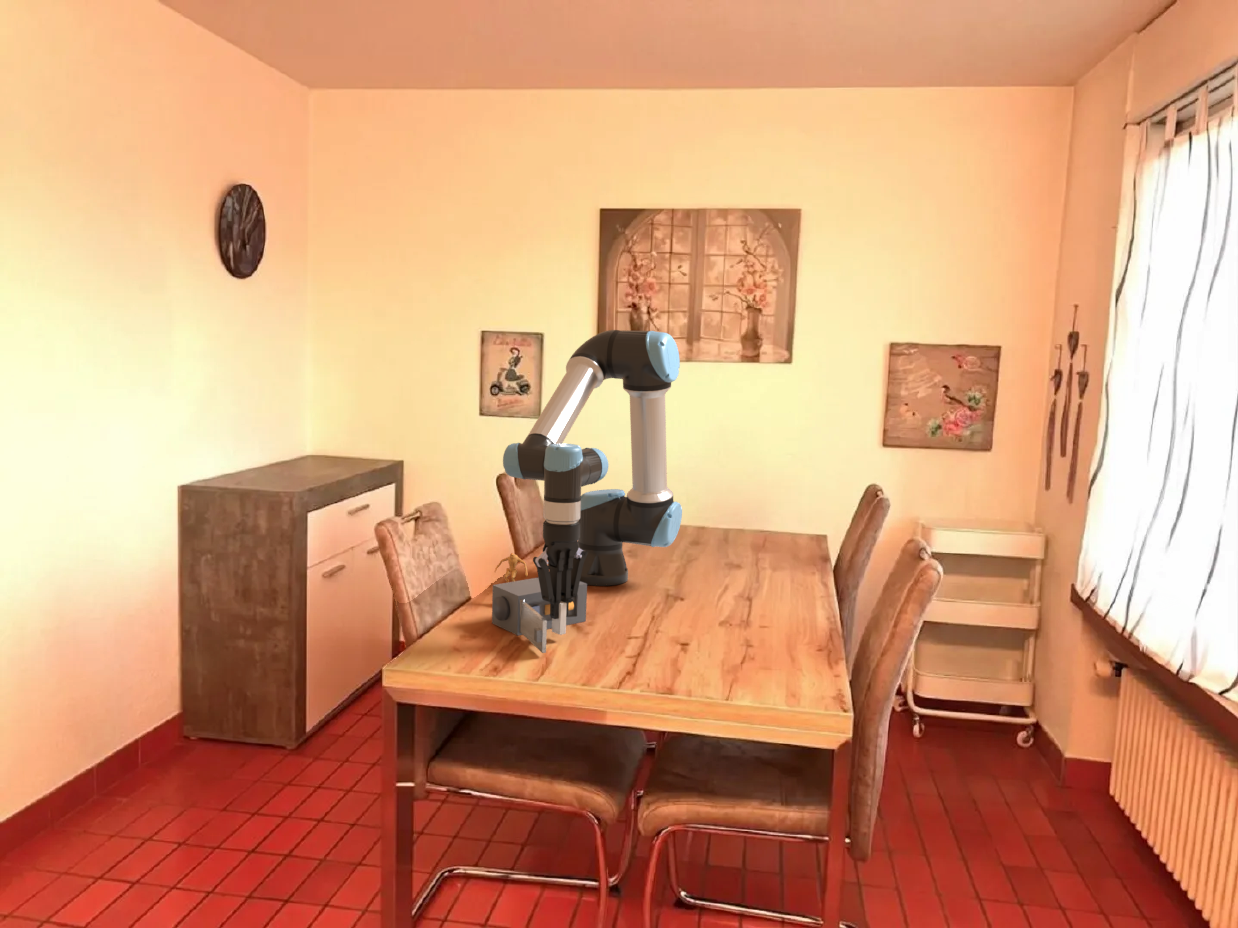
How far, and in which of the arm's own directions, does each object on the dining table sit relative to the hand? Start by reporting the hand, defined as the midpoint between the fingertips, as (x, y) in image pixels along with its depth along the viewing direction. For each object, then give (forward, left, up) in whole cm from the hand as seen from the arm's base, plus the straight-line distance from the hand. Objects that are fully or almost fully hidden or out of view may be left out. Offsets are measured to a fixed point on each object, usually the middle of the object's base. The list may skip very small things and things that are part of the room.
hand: (558, 632), depth 192 cm
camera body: (-4, -12, -2) cm, 13 cm away
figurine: (-6, -27, -2) cm, 28 cm away
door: (+7, 0, -1) cm, 7 cm away
